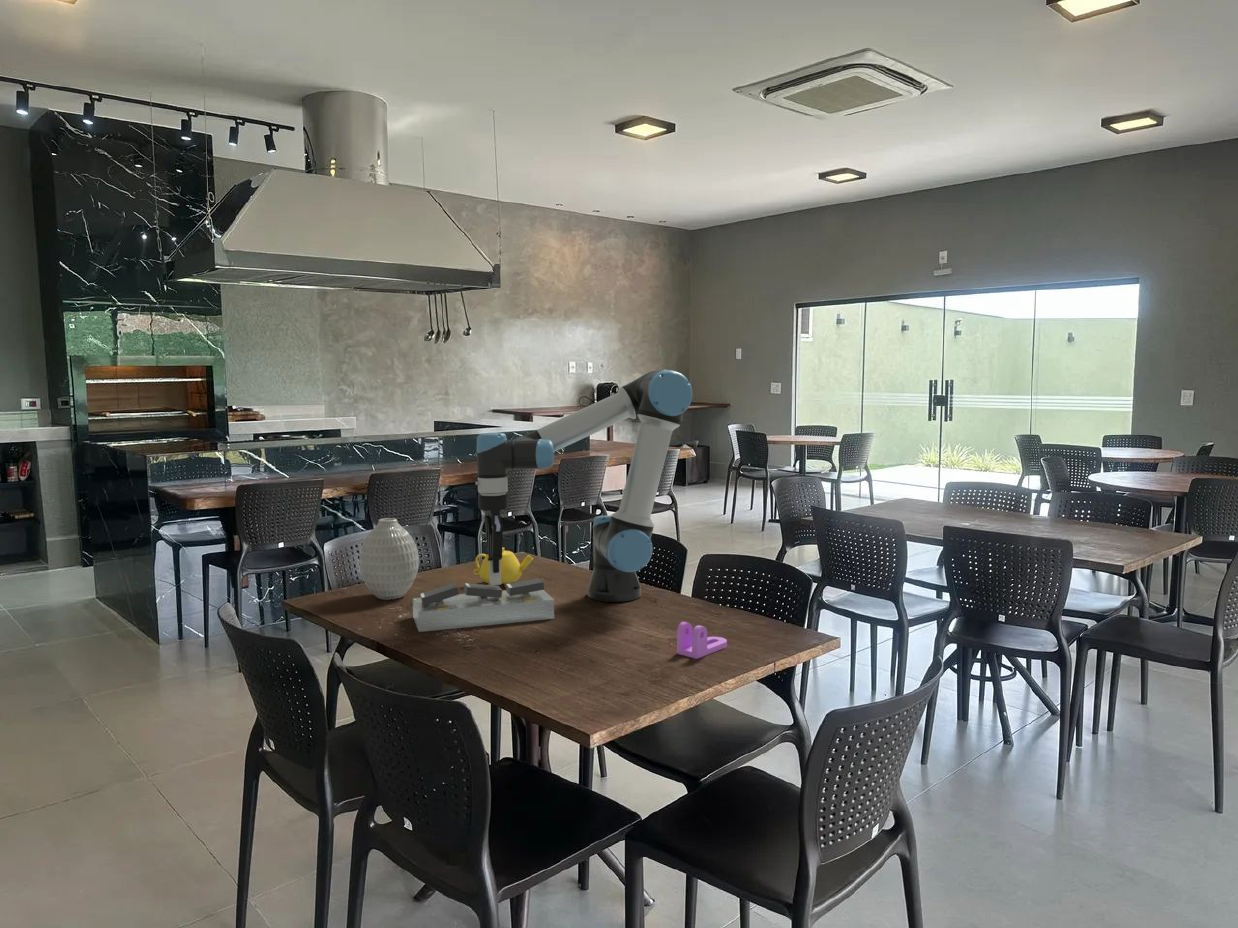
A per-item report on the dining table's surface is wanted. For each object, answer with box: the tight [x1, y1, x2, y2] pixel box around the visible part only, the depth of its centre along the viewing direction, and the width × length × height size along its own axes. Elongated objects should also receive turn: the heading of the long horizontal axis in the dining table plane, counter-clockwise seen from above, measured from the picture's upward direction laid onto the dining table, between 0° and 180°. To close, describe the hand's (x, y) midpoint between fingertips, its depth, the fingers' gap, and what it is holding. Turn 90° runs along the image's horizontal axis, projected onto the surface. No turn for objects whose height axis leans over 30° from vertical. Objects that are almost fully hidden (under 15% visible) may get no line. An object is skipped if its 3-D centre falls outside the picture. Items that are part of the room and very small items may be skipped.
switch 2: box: [463, 582, 503, 598], centre depth 220 cm, size 9×5×2 cm, turn 109°
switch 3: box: [505, 577, 545, 596], centre depth 223 cm, size 9×5×2 cm, turn 109°
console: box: [412, 589, 555, 633], centre depth 220 cm, size 34×14×6 cm, turn 109°
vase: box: [358, 517, 420, 601], centre depth 242 cm, size 16×16×22 cm
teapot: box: [473, 546, 534, 588], centre depth 256 cm, size 14×14×11 cm
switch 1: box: [419, 582, 460, 606], centre depth 216 cm, size 9×5×2 cm, turn 109°
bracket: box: [676, 621, 728, 660], centre depth 193 cm, size 13×6×7 cm, turn 137°
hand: (495, 584), depth 221 cm, fingers closed
